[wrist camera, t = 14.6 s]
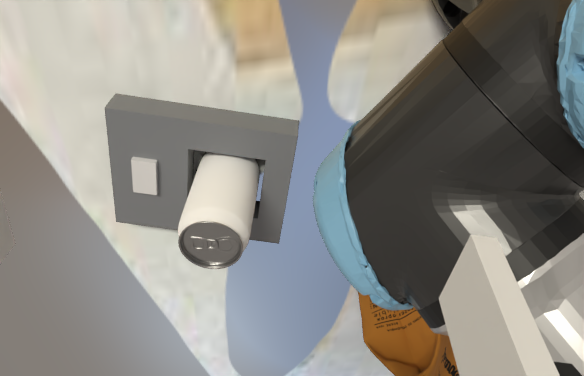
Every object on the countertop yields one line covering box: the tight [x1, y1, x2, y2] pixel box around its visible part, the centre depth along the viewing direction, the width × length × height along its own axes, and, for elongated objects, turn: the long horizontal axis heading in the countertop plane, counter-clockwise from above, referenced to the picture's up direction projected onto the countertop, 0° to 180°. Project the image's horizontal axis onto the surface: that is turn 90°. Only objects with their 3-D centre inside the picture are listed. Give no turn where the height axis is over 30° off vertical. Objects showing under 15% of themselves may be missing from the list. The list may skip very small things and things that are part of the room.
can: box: [178, 152, 259, 269], centre depth 46 cm, size 6×6×12 cm
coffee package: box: [358, 292, 460, 376], centre depth 48 cm, size 10×12×22 cm
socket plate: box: [105, 94, 299, 243], centre depth 49 cm, size 18×14×4 cm
